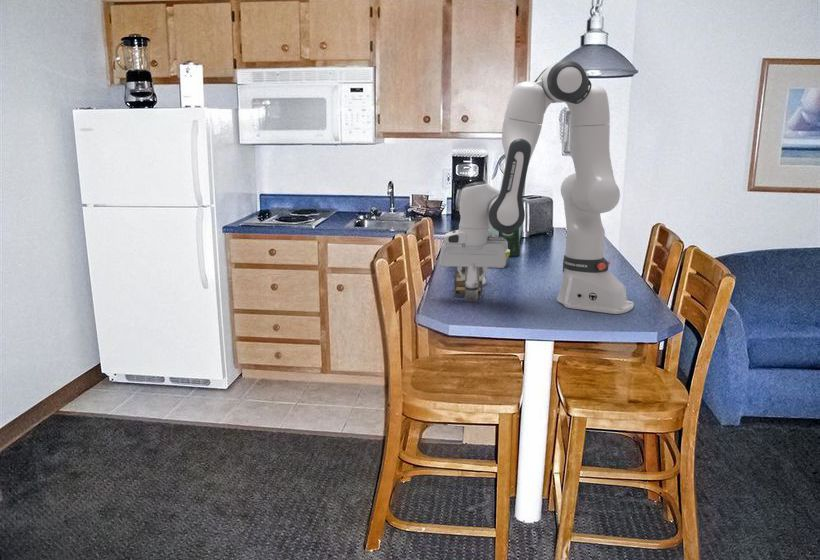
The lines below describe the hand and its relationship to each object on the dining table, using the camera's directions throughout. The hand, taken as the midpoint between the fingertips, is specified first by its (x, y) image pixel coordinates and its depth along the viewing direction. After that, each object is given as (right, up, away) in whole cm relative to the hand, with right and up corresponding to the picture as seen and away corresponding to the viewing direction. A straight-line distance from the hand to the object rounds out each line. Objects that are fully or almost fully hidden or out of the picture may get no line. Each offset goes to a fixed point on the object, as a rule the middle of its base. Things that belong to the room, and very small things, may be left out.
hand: (471, 280), depth 199 cm
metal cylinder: (0, -6, +1) cm, 6 cm away
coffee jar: (+22, +10, +70) cm, 74 cm away
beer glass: (+4, -1, +23) cm, 23 cm away
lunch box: (+24, +19, +104) cm, 109 cm away
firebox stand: (0, -4, +9) cm, 10 cm away
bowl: (+14, +6, +50) cm, 52 cm away
